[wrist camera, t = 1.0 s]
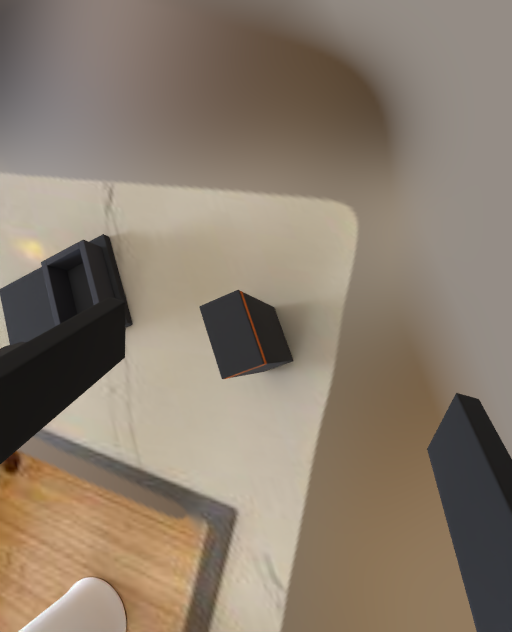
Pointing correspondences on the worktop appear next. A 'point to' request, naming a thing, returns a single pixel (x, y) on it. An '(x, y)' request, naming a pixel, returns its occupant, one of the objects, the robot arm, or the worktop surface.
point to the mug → (83, 610)
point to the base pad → (61, 289)
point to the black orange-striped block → (244, 335)
